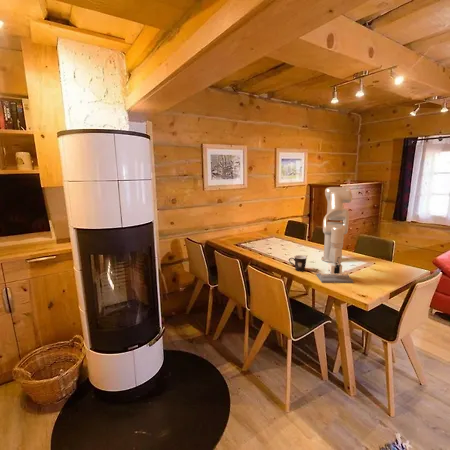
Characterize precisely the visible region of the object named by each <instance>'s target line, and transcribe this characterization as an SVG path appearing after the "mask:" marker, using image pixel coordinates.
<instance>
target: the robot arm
mask: <svg viewBox="0 0 450 450" xmlns="http://www.w3.org/2000/svg"><path fill="white" fill-rule="evenodd" d="M324 195H325V199H326V202H327V206H326V207H327V208H326V214H325V216H323V221H322V233H323V234H324V242H323V243H324V246H323V256H322V257H321V261H322V262H325V263H335V267H334V273H339V271H340V265H342V261H343V260H342V259H343V258H342V257H343V250H342V249H343V248H344V239H345V237H344V235H347V234H348V231H349V221H350V212H349V209H347V208H344V204H350V203H351V202H352V200H353V193H352V190H351V188H350V187H346V186H344V187H343V186H329V187H326V188H325V190H324ZM336 264H338V265H337V266H336Z"/></svg>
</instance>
